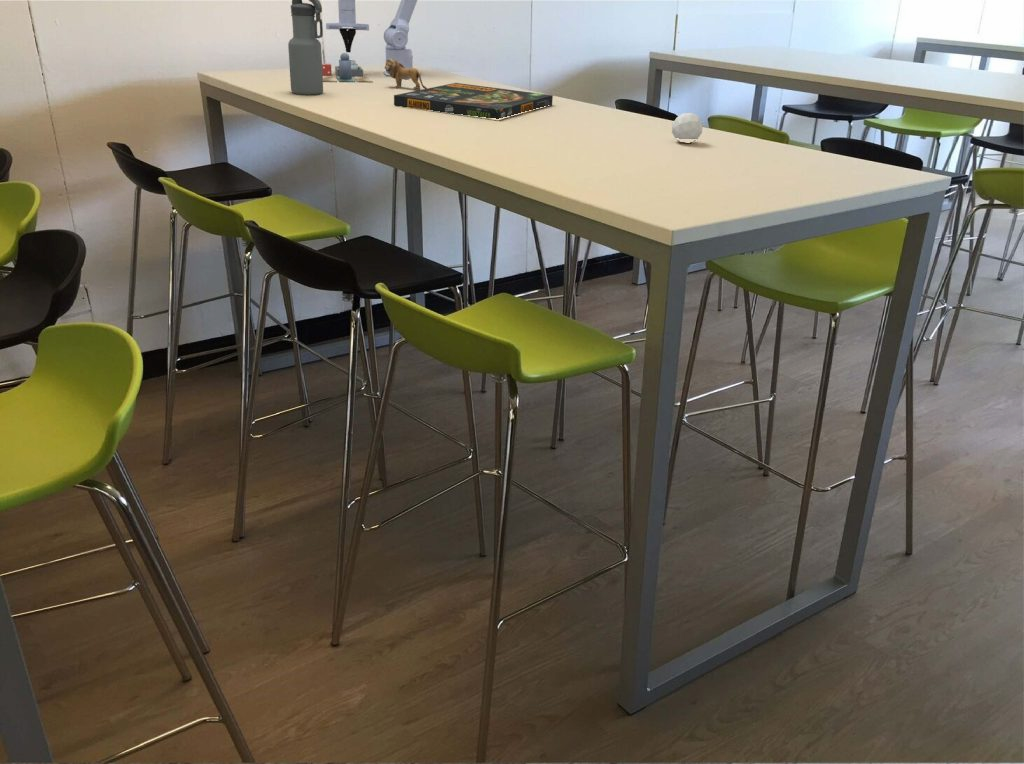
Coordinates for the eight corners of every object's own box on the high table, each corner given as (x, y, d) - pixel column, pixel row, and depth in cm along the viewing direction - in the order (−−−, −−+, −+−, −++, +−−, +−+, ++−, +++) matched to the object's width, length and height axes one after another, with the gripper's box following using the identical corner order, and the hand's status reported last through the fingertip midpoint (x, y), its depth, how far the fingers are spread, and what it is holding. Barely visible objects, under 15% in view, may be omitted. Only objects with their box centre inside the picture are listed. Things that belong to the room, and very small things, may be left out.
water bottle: (328, 91, 278) (324, -6, 266) (319, 96, 269) (314, -4, 257) (296, 89, 279) (291, -8, 266) (286, 94, 270) (280, -6, 258)
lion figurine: (382, 87, 291) (381, 58, 287) (388, 85, 295) (388, 57, 291) (424, 91, 287) (424, 62, 283) (430, 89, 292) (430, 60, 288)
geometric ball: (683, 155, 230) (675, 132, 224) (671, 138, 236) (664, 115, 230) (709, 141, 229) (703, 117, 223) (698, 124, 234) (691, 101, 228)
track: (368, 78, 308) (368, 76, 308) (372, 82, 300) (372, 81, 300) (318, 77, 304) (318, 76, 304) (321, 81, 295) (321, 80, 295)
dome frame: (360, 73, 317) (360, 66, 316) (363, 77, 310) (363, 69, 309) (335, 73, 315) (335, 66, 314) (337, 76, 308) (337, 69, 307)
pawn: (350, 77, 304) (350, 52, 300) (352, 79, 300) (351, 53, 297) (339, 77, 303) (338, 52, 299) (340, 79, 299) (339, 53, 296)
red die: (330, 74, 313) (330, 63, 311) (331, 75, 310) (331, 64, 308) (320, 73, 312) (320, 63, 310) (321, 75, 309) (320, 64, 307)
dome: (357, 71, 316) (356, 59, 314) (359, 73, 310) (359, 62, 308) (339, 70, 314) (338, 59, 312) (340, 73, 308) (340, 61, 307)
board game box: (394, 107, 261) (393, 95, 260) (455, 94, 289) (455, 82, 288) (498, 122, 247) (498, 109, 246) (552, 107, 275) (552, 95, 274)
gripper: (326, 10, 298) (328, 53, 304) (369, 11, 302) (370, 53, 308) (324, 8, 304) (326, 50, 310) (367, 10, 308) (368, 51, 314)
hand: (348, 52), depth 309 cm, fingers closed
